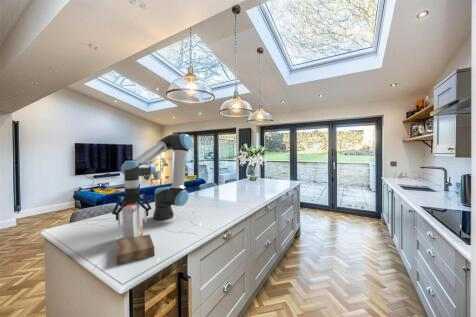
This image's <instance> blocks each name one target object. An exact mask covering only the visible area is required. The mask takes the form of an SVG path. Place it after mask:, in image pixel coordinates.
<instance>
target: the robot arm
mask: <svg viewBox="0 0 476 317" xmlns="http://www.w3.org/2000/svg"><path fill="white" fill-rule="evenodd" d="M192 147H193V140H192V138H191V136H190V135H189V134H187V133H179V134H178V133H177V134H169V135H166V136H164V137H162V138H161V139H159V140H158V141H157V142H156V144H155V145H153V146H152V147H151V148H150V147H149V149H147V150H146V151H144V152H143V153H141V154H140V155H139V156H137V157H136V158H134V159H133V160H125V161H124V163H122V164H121V166H120V171H121V173H122V174H123V176H124V177H123V178H124V181H123V182H124V183H123V185H124V196H118V200H117V202H116V203H115V204H116V205H115V206H114V208H113V210H112V213H111V214H112V215H115V221H118V222H117V226H118V227H121V213H122V208H123V207H125V206H126V205H128V204H132V203H136V202H137V203H138V204H139V205H141V206H142V209H143V210H144V223H147V217H149V211H150V210H152V206H151V205H150V203H149V202H148V199H147V198H146V195H145V194H144V193H143V194H140V177H143V176H150V175H154V174H155V172H156V165H155V164H154V163H153V162H152V161H154V160H155V159H156V158H157V157H159V155H161V154H163V153H166V152H167V151H171V150H172V152H173V154H174V157H173V168H172V171H173V172H172V181H171V182H172V183H171V185H170V186H164V187H158V188H156V189H155V190H154V212H153V215H152V220H154V221H165V220H167V221H168V220H170V219H172V218H174V215H175V214H174V211H173V208H172V206H176V207H182V206H184V205H186V204H187V202H188V200H189V196H190V195H189V191H187V190H186V189H187V187H186V186H185V176H186V175H185V173H186V162H187V154H188V153H189V150H191V149H192ZM140 198H141V199H143V201H144V203H145V204H146V206H145V205H144V204H143V203H142V201H141V202H140ZM123 200H124V203H122V205H121V206H120V207H119V205H120V204H121V202H122V201H123Z"/></svg>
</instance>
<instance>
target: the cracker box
mask: <svg viewBox="0 0 476 317" xmlns="http://www.w3.org/2000/svg"><path fill="white" fill-rule="evenodd" d="M139 201H140V200H139ZM140 202H141V203H142V201H140ZM121 213H122V214H121V215H122V232H123V234H122V235H123V239H128V238H133V237H138V236H143V234H144V230H143V207H142V206H141V205H139V204H138V203H137V202H136V203H132V204H127V205H126V206H125V207H123V208H122V210H121Z"/></svg>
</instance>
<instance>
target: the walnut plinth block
mask: <svg viewBox="0 0 476 317" xmlns="http://www.w3.org/2000/svg"><path fill="white" fill-rule="evenodd" d="M155 254H156V253H155V245H154V243H153V240H152V236H151V235H150V234H149V233H148V234H145V235H142V236H138V237H133V238H128V239H124V238H123V239H119V240H116V257H115V258H116V266H120V265H124V264H127V263H131V262H132V263H133V262H136V261H140V260H144V258H145V259H148V257H149V258H152V257H155Z"/></svg>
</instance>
